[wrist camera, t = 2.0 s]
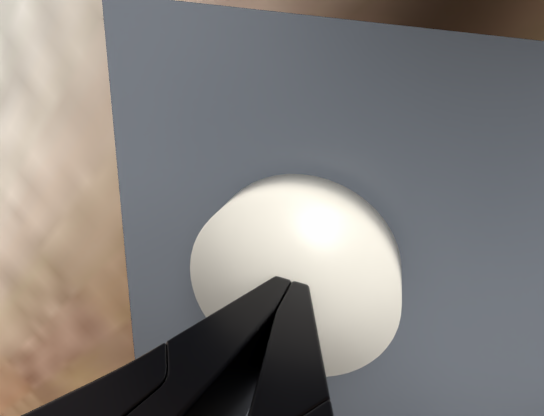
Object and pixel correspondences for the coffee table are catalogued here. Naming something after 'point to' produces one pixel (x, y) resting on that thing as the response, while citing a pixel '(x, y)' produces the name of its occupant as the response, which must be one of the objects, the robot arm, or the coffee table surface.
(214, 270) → the knob
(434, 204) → the console block
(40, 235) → the coffee table surface
